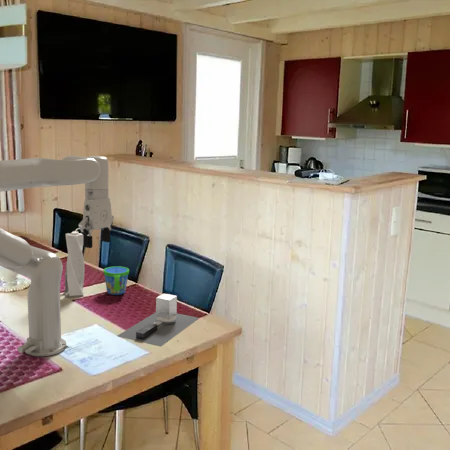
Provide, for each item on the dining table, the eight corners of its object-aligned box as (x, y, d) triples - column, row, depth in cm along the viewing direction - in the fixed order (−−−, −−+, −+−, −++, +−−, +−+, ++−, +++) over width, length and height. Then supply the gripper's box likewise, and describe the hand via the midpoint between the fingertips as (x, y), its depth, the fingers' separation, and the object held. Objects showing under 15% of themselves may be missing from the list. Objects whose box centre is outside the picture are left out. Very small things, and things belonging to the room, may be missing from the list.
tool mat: (160, 348, 165) (160, 346, 165) (116, 338, 172) (116, 335, 172) (199, 319, 191) (199, 317, 191) (159, 311, 197) (159, 309, 197)
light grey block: (169, 319, 182) (169, 300, 181) (155, 316, 184) (156, 297, 183) (176, 314, 187) (176, 295, 185) (163, 311, 189) (163, 293, 188)
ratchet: (148, 341, 169) (149, 321, 167) (130, 337, 171) (130, 317, 170) (179, 320, 188) (179, 302, 186) (162, 316, 190) (163, 298, 189)
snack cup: (128, 299, 210) (128, 275, 208) (101, 299, 208) (101, 275, 206) (129, 286, 225) (130, 264, 223) (105, 286, 223) (105, 264, 221)
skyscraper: (85, 290, 218) (84, 225, 212) (87, 296, 210) (86, 229, 205) (64, 292, 215) (63, 226, 209) (65, 298, 207) (64, 230, 202)
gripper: (89, 198, 160) (89, 251, 163) (121, 192, 176) (121, 241, 179) (70, 195, 163) (71, 248, 166) (103, 190, 178) (103, 238, 182)
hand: (97, 244), depth 173 cm, fingers open, 9 cm apart
